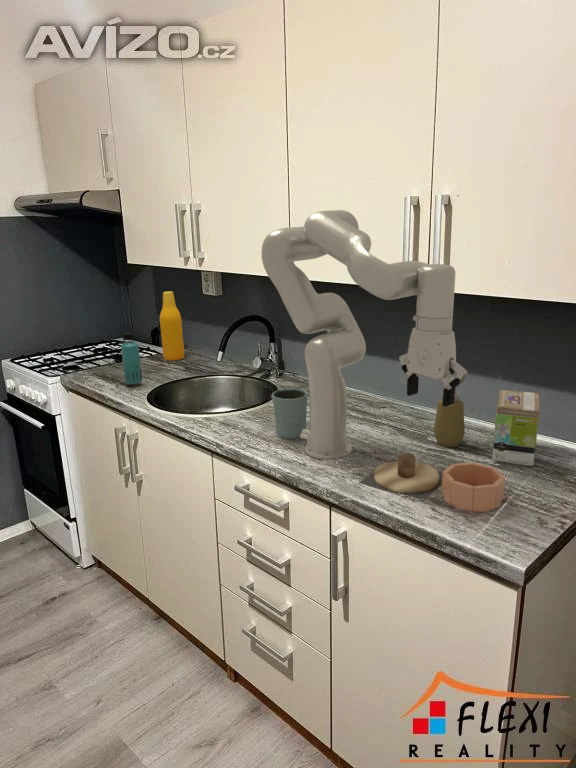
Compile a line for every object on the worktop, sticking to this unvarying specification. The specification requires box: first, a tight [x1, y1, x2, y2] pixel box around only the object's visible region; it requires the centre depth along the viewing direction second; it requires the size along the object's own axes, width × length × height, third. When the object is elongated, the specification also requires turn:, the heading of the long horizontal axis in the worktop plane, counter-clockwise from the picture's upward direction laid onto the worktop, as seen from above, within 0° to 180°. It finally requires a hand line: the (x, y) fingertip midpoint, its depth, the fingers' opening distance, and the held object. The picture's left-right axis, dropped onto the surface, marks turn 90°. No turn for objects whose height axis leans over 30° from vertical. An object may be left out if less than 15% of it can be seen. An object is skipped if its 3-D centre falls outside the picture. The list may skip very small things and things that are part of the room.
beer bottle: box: [159, 291, 185, 362], centre depth 254 cm, size 9×9×29 cm
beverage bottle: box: [120, 332, 143, 385], centre depth 217 cm, size 6×7×20 cm
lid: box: [373, 452, 439, 494], centre depth 137 cm, size 15×15×6 cm
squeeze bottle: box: [433, 387, 466, 449], centre depth 155 cm, size 8×8×18 cm
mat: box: [359, 458, 443, 502], centre depth 138 cm, size 16×16×1 cm
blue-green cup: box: [271, 388, 308, 439], centre depth 168 cm, size 10×10×12 cm
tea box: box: [491, 389, 541, 467], centre depth 149 cm, size 15×10×15 cm, turn 158°
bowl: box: [441, 461, 506, 513], centre depth 128 cm, size 12×12×6 cm
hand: (429, 399), depth 130 cm, fingers open, 9 cm apart
